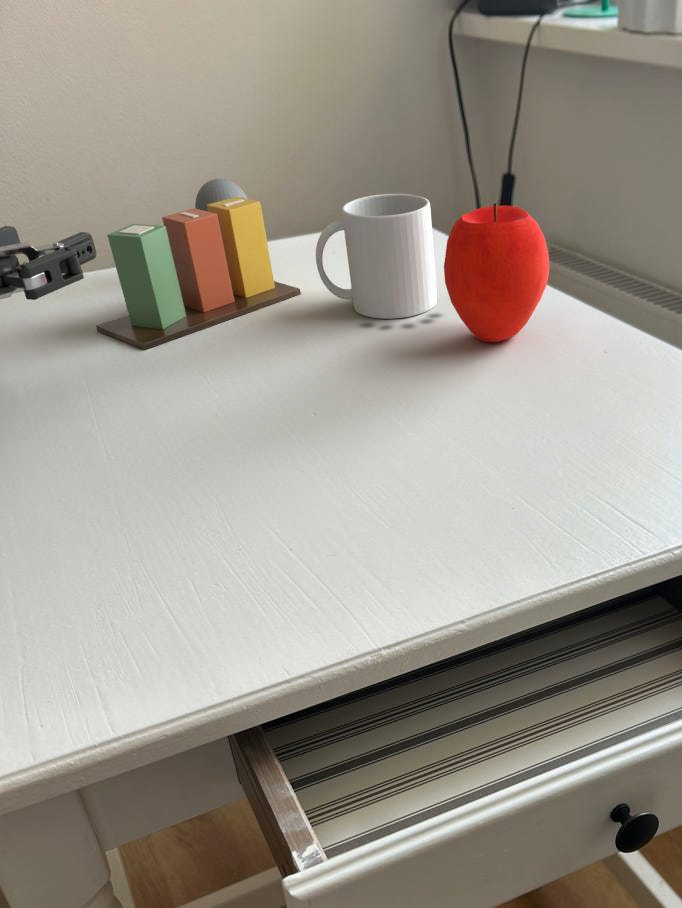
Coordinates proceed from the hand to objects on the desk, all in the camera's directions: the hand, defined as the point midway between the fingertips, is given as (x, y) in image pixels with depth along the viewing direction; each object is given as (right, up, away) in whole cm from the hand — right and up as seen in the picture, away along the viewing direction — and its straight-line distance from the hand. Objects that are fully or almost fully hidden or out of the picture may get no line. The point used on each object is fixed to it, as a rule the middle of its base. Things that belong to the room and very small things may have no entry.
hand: (52, 240), depth 87 cm
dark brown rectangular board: (+8, 0, +18) cm, 20 cm away
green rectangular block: (+5, -2, +15) cm, 15 cm away
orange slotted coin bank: (+9, +1, +18) cm, 20 cm away
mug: (+28, 0, +17) cm, 33 cm away
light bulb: (+9, +8, +29) cm, 32 cm away
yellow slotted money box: (+12, +3, +21) cm, 25 cm away
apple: (+40, -6, +8) cm, 41 cm away
